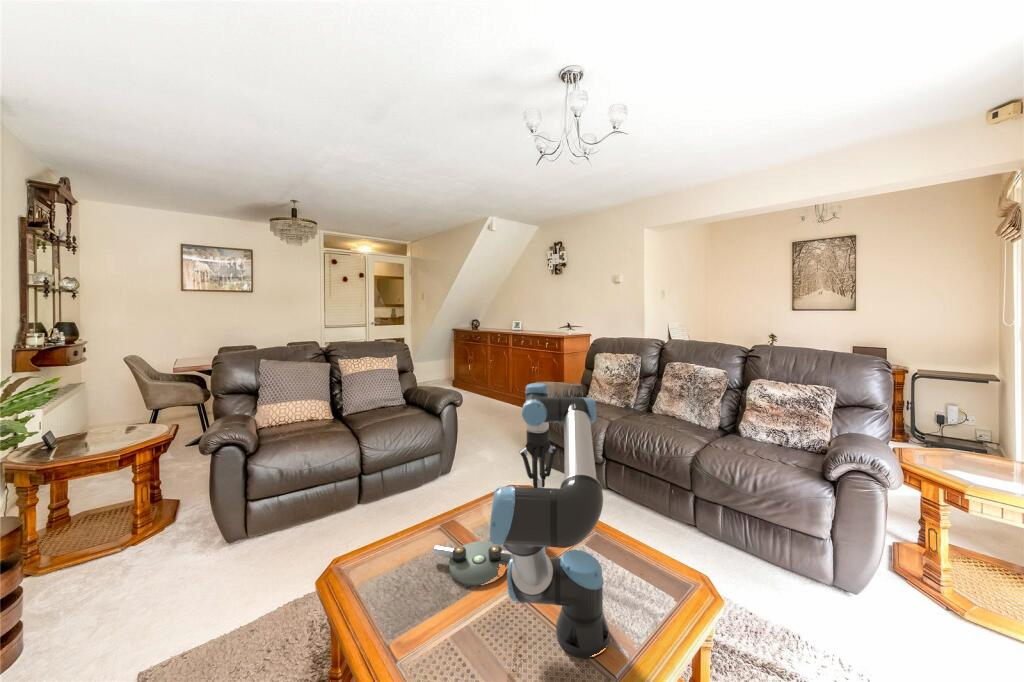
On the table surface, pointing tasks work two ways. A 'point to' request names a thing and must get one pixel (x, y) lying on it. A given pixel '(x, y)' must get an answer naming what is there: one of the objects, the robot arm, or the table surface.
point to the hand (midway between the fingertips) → (539, 496)
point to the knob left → (451, 553)
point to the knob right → (498, 554)
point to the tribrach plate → (476, 564)
